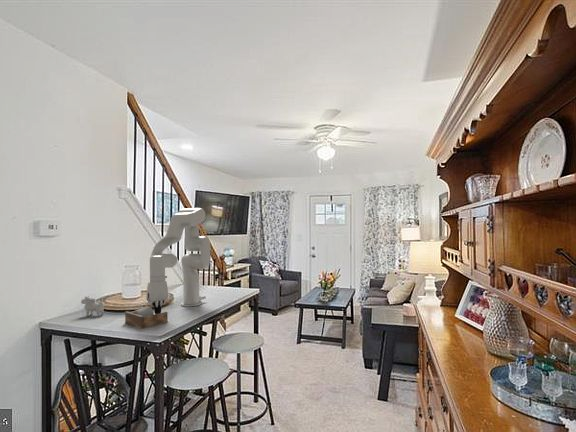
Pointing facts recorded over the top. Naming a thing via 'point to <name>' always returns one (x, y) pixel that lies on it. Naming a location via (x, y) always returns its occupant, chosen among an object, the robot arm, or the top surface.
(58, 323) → the top surface
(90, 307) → the grey animal figurine
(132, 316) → the open wooden box
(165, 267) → the robot arm
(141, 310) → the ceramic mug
